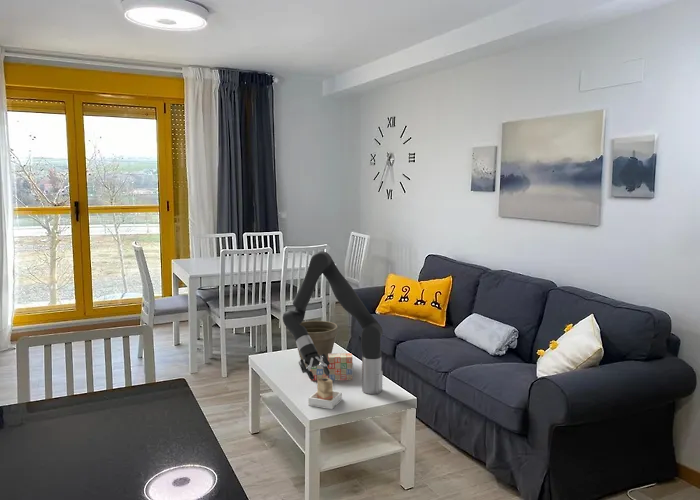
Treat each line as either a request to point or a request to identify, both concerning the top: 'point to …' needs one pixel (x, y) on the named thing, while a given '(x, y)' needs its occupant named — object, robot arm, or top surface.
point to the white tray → (325, 403)
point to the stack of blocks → (336, 367)
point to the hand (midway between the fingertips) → (320, 377)
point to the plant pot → (321, 336)
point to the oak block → (325, 389)
